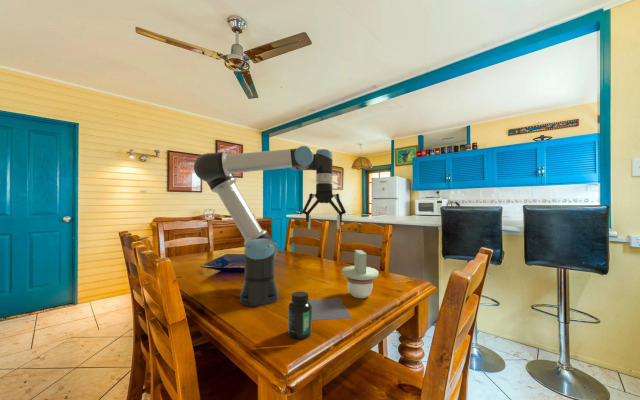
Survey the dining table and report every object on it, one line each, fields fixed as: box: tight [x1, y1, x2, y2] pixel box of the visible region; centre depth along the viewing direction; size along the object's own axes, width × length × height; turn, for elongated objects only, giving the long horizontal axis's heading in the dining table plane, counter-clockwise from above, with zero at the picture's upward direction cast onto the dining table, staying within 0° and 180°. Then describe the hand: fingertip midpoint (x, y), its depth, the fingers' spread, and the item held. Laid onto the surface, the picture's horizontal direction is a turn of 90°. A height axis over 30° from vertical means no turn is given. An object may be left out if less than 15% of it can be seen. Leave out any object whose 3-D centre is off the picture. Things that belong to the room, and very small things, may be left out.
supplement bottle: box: [287, 290, 313, 341], centre depth 76 cm, size 7×7×12 cm
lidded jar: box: [346, 277, 374, 299], centre depth 107 cm, size 11×11×9 cm
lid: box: [341, 249, 379, 280], centre depth 107 cm, size 15×15×9 cm
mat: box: [308, 297, 353, 321], centre depth 94 cm, size 18×18×1 cm
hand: (323, 229), depth 119 cm, fingers open, 13 cm apart
